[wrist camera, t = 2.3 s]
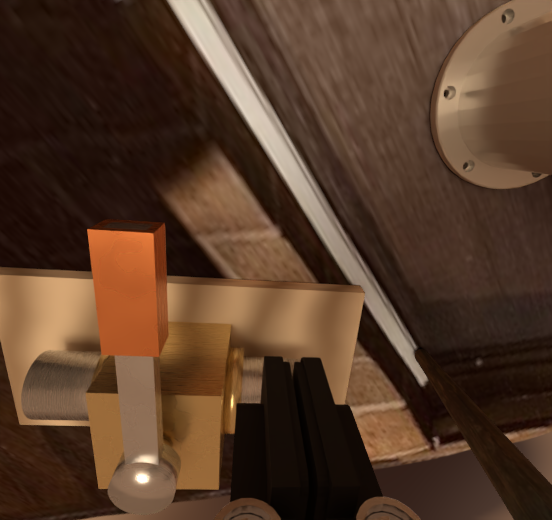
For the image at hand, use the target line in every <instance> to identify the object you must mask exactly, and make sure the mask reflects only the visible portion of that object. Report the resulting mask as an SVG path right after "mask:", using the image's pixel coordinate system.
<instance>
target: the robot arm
mask: <svg viewBox="0 0 552 520" xmlns="http://www.w3.org/2000/svg"><path fill="white" fill-rule="evenodd" d="M501 19H502V20H501ZM444 91H445V92H446V96H445V97H444ZM430 121H431V132H432V136H433V139H434V143H435V146H436V149H437V151H438V153H439V154H440V156H441V158H442V160H443V162H444V163H445V164H446V165H447V166H448V167H449V169H450V170H451V171H452V172H453V173H455V174H456V175H457V176H459V177H460V178H461V179H463V180H465V181H467V182H469V183H472V184H474V185H477V186H482V187H486V188H492V189H511V188H519V187H522V186H526V185H529V184H532V183H535V182H537V181H539V180H541V179H543V178H545V177H547V176H549V175H552V0H513V1H510V2H508V3H506V4H504V5H502V6H500V7H498V8H496V9H494V10H493V11H491V12H489V13H488V14H486V15H484V16H483V17H482V18H481V19H479V20H478V21H477V22H476V23H475V24H473V25H472V26H471V27H470V28H469V29H468V30H467V31H466V32H465V33H464V34H463V35H462V36H461V38H460V39H459V40H458V41H457V42H456V43H455V45H454V46H453V48H452V49H451V51H450V53H449V54H448V56H447V57H446V59H445V61H444V63H443V65H442V67H441V70H440V72H439V74H438V77H437V79H436V83H435V86H434V90H433V94H432V99H431V111H430ZM464 163H465V166H464V167H463V165H464ZM214 520H420V518H419V517H418V515H416V514H415V513H414V512H413V511H412V510H411V509H410V508H409V507H407V506H406V505H404V504H403V503H401V502H399V501H397V500H395V499H391V498H388V497H383V496H382V493H381V490H380V487H379V484H378V482H377V479H376V476H375V473H374V471H373V468H372V465H371V462H370V460H369V457H368V454H367V451H366V449H365V446H364V443H363V441H362V438H361V435H360V432H359V430H358V427H357V424H356V421H355V419H354V416H353V413H352V411H351V408H350V407H349V406H348V405H342V404H335V402H334V399H333V396H332V393H331V390H330V386H329V383H328V380H327V377H326V373H325V370H324V367H323V364H322V361H321V358H318V357H302V358H301V361H300V362H294V368H293V377H292V373H291V367H290V362H283V357H281V356H264V362H263V375H262V388H261V400H260V403H237V404H236V419H235V435H234V451H233V467H232V483H231V500H230V503H229V504H227V505H226V506H225V507H223V508H222V509H221V510H220V511H219V513H218V514H217V515H216V517H215V518H214Z"/></svg>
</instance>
